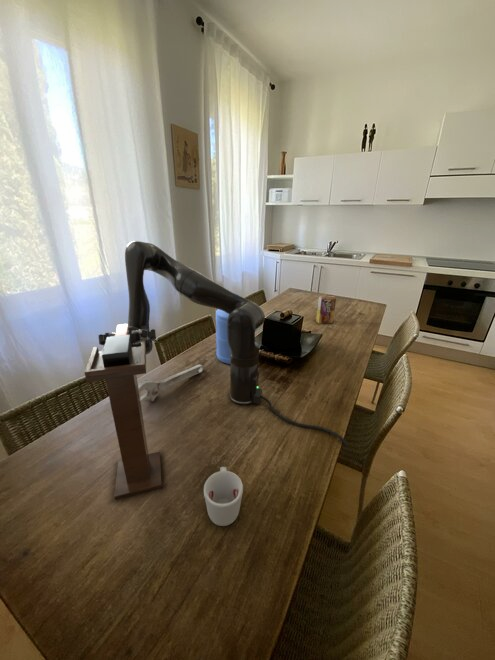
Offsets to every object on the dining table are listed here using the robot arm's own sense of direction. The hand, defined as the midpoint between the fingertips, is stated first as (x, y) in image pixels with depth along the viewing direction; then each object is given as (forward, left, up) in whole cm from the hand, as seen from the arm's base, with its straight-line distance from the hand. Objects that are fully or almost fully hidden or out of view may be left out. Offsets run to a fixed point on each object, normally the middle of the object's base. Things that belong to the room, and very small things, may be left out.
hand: (125, 334), depth 71 cm
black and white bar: (-6, +11, +2) cm, 12 cm away
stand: (-9, +15, -30) cm, 34 cm away
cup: (-31, +18, -30) cm, 46 cm away
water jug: (-17, -48, -30) cm, 59 cm away
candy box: (-58, -101, -30) cm, 120 cm away
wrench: (-1, -21, -30) cm, 36 cm away
